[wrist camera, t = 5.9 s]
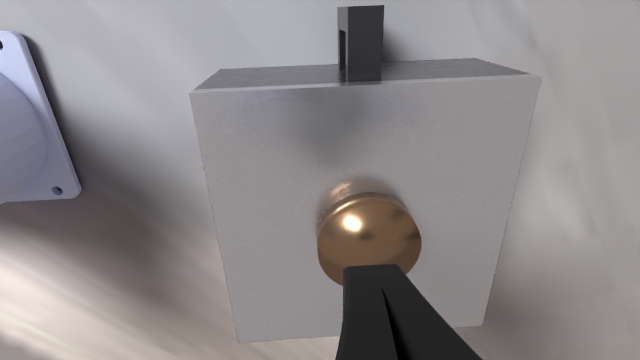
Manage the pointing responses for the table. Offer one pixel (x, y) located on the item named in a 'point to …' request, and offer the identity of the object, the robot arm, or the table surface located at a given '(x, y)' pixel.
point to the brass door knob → (367, 234)
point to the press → (359, 173)
